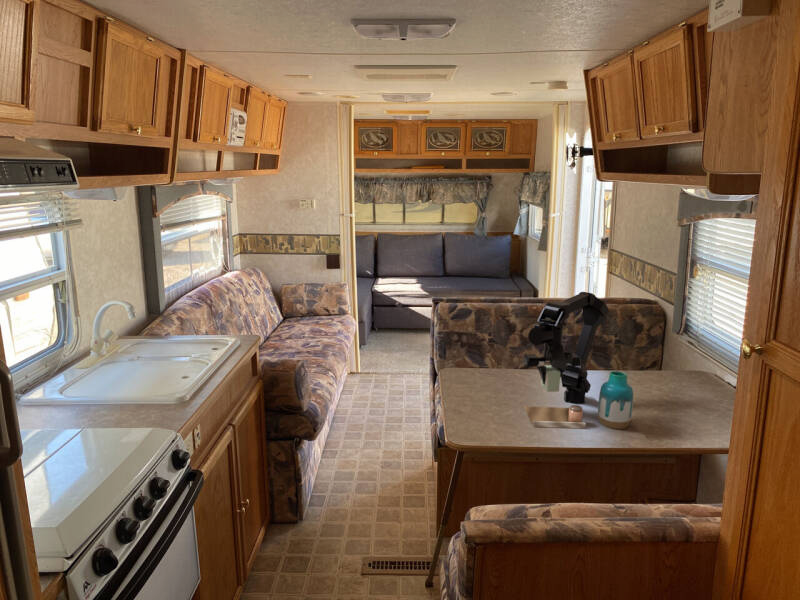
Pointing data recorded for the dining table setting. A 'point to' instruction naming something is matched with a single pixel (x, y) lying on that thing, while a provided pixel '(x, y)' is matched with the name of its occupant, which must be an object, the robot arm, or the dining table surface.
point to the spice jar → (575, 413)
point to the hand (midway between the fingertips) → (550, 383)
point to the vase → (615, 401)
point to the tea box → (551, 379)
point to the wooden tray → (551, 417)
